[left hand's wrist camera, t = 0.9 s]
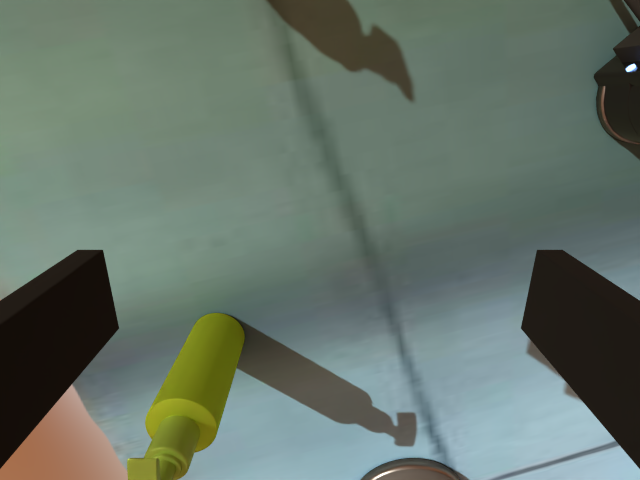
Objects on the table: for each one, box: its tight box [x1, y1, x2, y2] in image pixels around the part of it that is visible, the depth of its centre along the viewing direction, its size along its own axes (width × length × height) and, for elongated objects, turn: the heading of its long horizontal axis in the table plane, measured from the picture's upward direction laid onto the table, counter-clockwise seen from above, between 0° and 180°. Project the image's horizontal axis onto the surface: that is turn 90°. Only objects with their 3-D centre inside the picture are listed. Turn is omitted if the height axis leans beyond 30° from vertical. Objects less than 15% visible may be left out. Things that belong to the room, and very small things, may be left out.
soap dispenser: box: [127, 313, 245, 480], centre depth 36 cm, size 6×7×20 cm
